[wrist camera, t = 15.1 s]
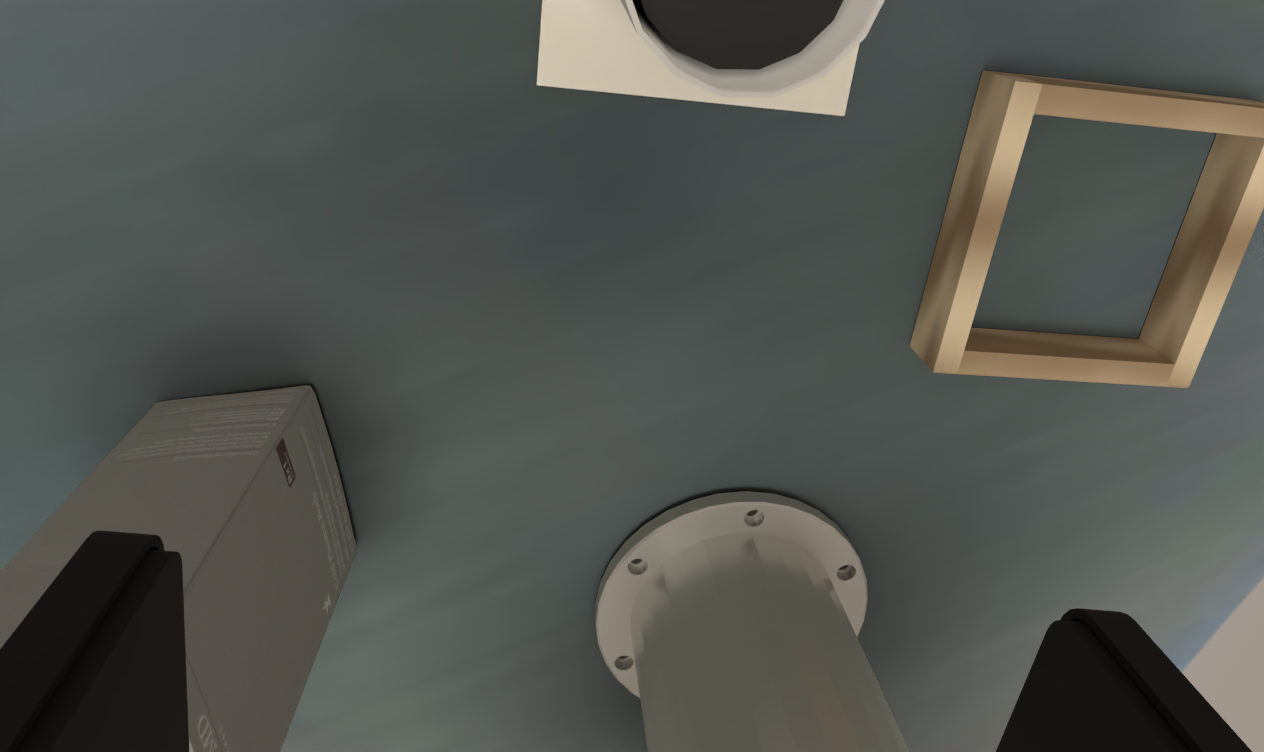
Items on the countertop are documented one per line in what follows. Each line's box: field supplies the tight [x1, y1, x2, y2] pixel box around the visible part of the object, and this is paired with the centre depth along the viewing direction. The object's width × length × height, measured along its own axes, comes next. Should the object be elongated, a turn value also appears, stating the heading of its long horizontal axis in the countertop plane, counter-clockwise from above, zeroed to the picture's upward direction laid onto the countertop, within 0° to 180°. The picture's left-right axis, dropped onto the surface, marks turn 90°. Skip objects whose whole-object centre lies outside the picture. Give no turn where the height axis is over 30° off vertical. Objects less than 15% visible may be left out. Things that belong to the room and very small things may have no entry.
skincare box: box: [0, 385, 356, 752], centre depth 31 cm, size 8×7×16 cm
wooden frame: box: [910, 70, 1264, 388], centre depth 36 cm, size 11×11×2 cm
